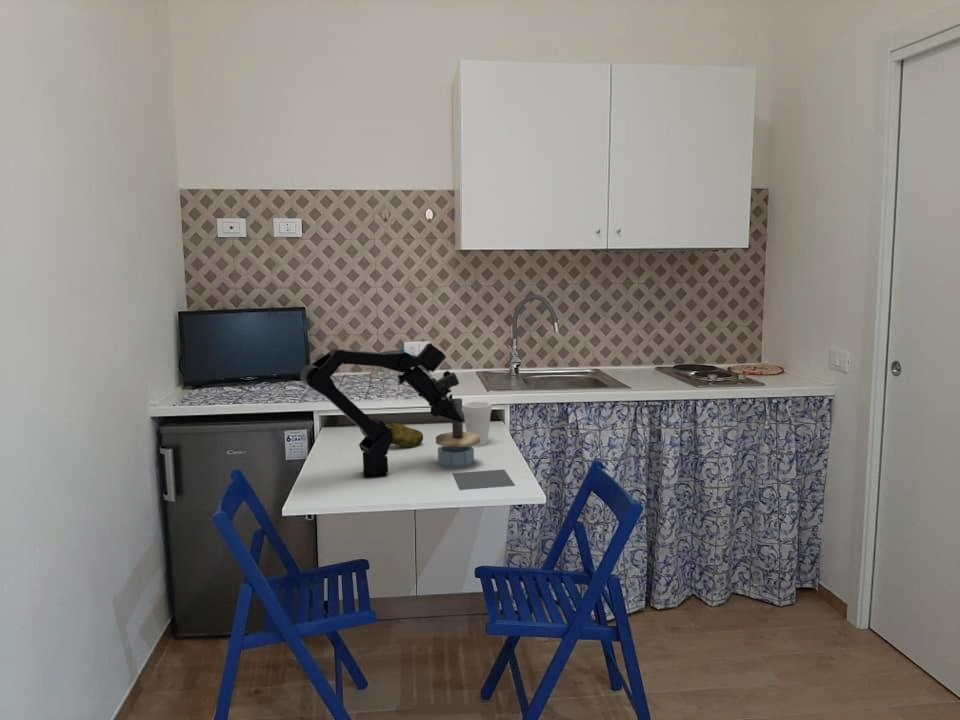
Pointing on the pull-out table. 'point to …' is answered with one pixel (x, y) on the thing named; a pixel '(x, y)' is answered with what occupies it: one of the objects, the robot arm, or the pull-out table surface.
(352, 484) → the pull-out table surface
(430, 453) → the pull-out table surface
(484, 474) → the mat
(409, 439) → the potato
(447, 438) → the paper towel holder
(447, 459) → the bowl
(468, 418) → the foam cup
